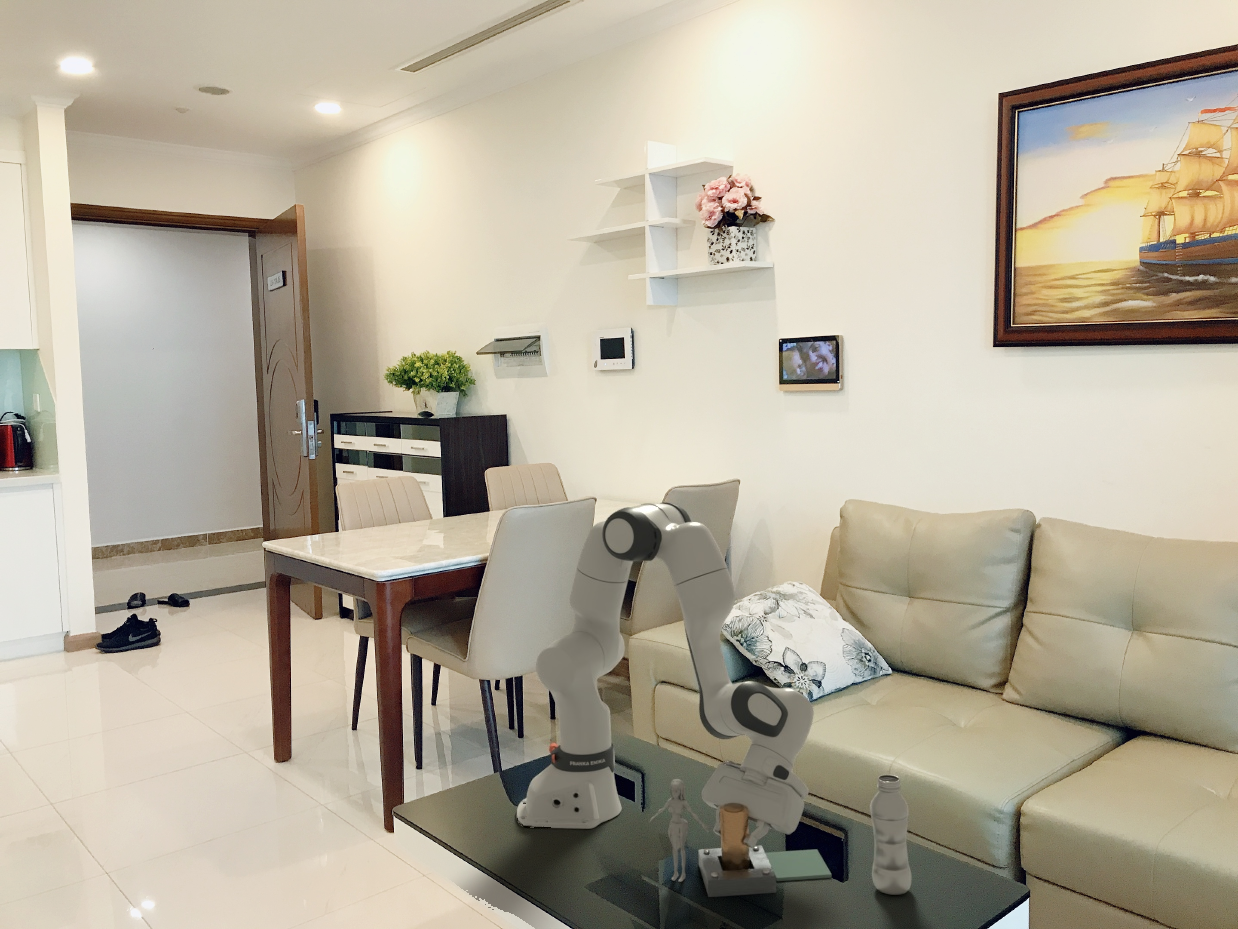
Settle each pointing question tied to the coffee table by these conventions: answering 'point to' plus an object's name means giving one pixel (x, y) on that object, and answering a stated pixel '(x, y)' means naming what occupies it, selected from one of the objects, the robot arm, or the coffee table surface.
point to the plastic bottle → (890, 837)
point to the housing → (736, 874)
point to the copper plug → (734, 836)
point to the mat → (798, 865)
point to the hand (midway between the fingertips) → (732, 840)
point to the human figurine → (678, 823)
